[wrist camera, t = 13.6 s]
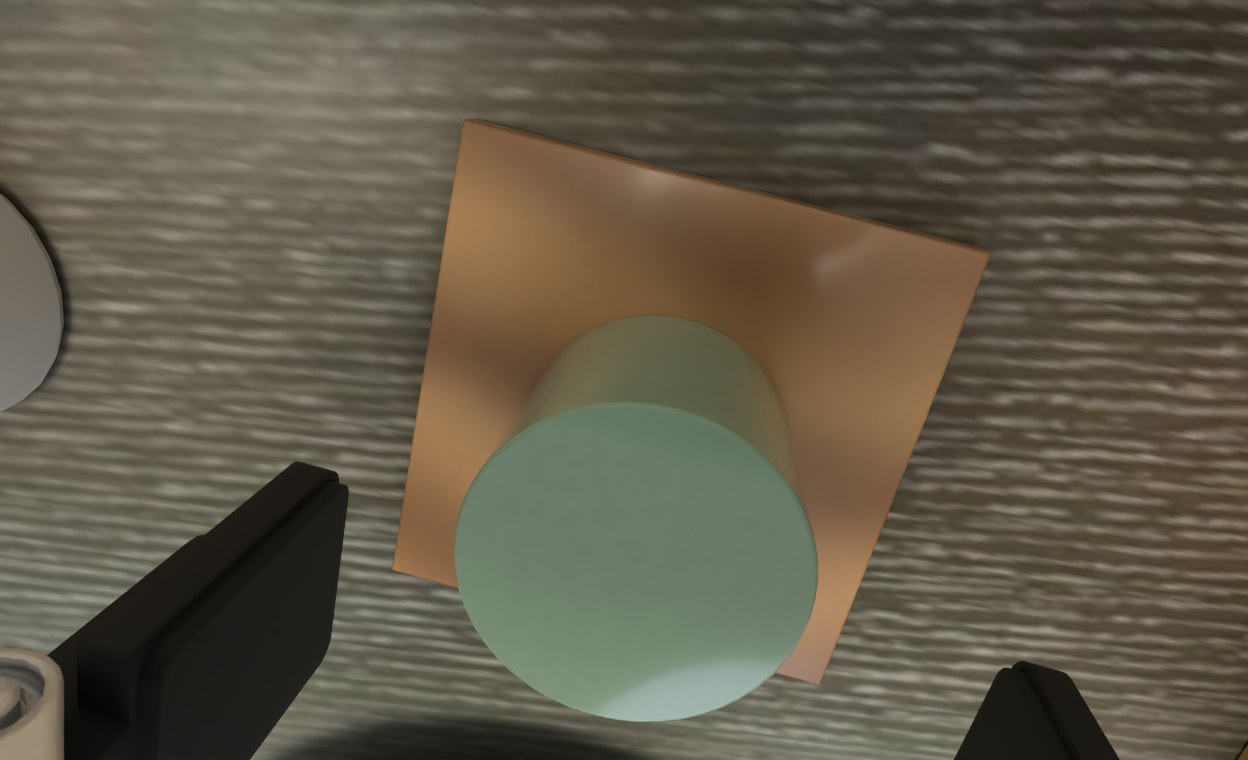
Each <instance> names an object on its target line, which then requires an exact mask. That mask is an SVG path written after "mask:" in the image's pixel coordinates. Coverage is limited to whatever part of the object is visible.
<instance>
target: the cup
mask: <svg viewBox="0 0 1248 760" xmlns="http://www.w3.org/2000/svg"><path fill="white" fill-rule="evenodd" d="M63 326H64V315H63V302H62V291H61V288H60V285H59V282H58V279H57V276H56V273H55V269H54V266H53V263H52V260H51V258H50V256H49V255H48V253H47V251H46V249H45V248H44V246H43V244H42V242H41V241H40V239H39V237H38V235H37V234H36V232H35V230H34V228H33V227H32V226H31V225H30V224H29V222H28V221H27V220H26V219H25V218H24V217H23V216H22V215H21V213H20V212H19V211H18V210H17V209H16V208H15V207H14V206H13V204H12V203H11V202H10V201H9V200H8V199H7V198H5V197H4V196H3V195H1V194H0V412H1V411H3V410H5V409H7V408H9V407H11V406H13V405H15V404H17V403H19V402H21V401H22V400H23V399H24V398H26V397H27V396H28V395H29V394H30V393H31V392H32V391H34V390H35V389H36V388H37V387H38V386H39V385H41V383H42V382H43V380H44V378H45V376H46V375H47V373H48V371H49V369H50V367H51V366H52V364H53V362H54V360H55V358H56V356H57V353H58V351H59V346H60V341H61V336H62V331H63Z"/></svg>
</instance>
